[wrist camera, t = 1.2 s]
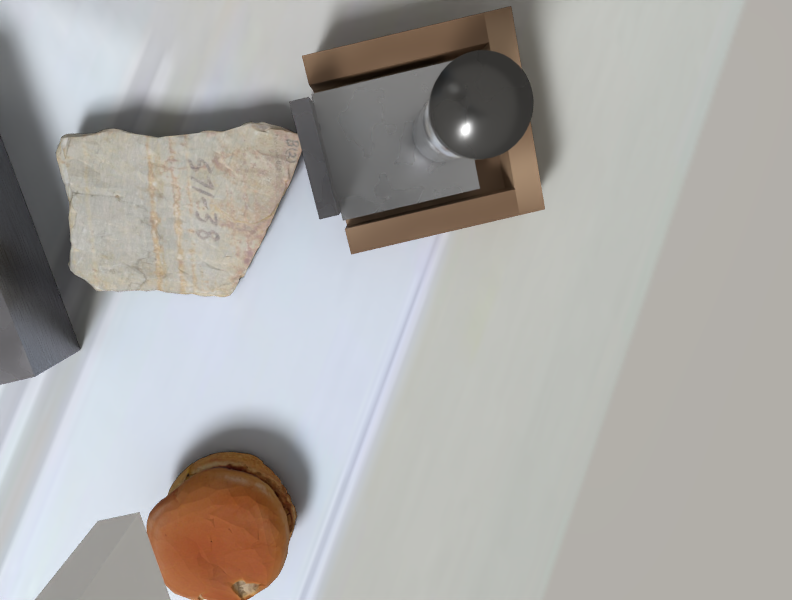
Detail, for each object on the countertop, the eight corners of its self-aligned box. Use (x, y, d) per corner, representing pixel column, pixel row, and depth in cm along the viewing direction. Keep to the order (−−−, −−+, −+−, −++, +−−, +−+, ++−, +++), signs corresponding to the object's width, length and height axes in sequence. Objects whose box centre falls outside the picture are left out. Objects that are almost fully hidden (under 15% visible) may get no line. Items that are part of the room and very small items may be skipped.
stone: (308, 127, 34) (303, 123, 32) (310, 294, 37) (306, 302, 34) (62, 121, 34) (37, 117, 31) (79, 292, 36) (57, 300, 33)
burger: (215, 424, 38) (194, 458, 34) (324, 497, 40) (318, 540, 35) (135, 525, 40) (105, 571, 35) (244, 592, 41) (228, 644, 37)
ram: (299, 103, 33) (243, 49, 19) (454, 67, 32) (514, -15, 19) (329, 221, 34) (298, 252, 20) (476, 186, 34) (548, 193, 20)
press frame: (309, 68, 33) (301, 55, 30) (497, 23, 33) (511, 6, 30) (353, 246, 36) (351, 254, 32) (528, 205, 35) (544, 209, 32)
